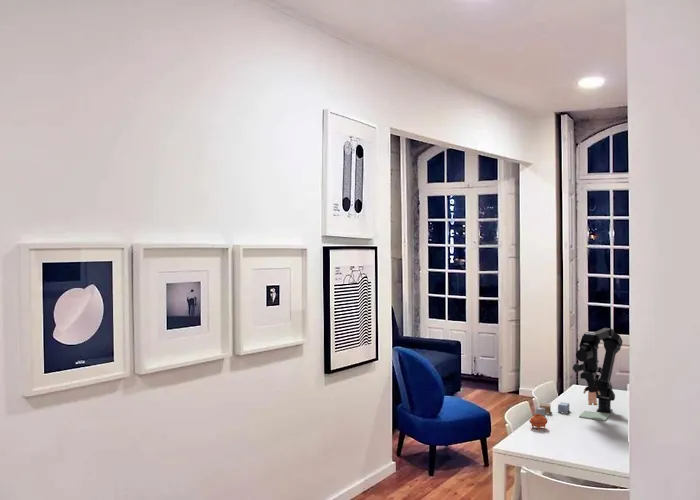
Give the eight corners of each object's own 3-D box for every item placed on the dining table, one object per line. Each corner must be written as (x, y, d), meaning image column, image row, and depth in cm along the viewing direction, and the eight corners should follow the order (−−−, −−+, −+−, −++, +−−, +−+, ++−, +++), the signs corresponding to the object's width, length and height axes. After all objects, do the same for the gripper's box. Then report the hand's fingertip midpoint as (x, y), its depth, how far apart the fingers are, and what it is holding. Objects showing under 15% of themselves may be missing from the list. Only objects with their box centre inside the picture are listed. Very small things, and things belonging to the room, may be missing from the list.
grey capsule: (537, 415, 305) (537, 407, 305) (546, 416, 303) (546, 408, 303) (534, 417, 301) (534, 409, 301) (543, 418, 299) (543, 410, 299)
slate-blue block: (561, 410, 315) (561, 402, 315) (569, 411, 313) (569, 403, 313) (558, 412, 310) (558, 404, 310) (566, 413, 308) (566, 405, 308)
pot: (550, 430, 278) (546, 415, 279) (532, 433, 280) (529, 419, 280) (548, 424, 286) (544, 410, 286) (531, 428, 288) (527, 413, 288)
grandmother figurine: (598, 403, 304) (598, 378, 304) (601, 405, 300) (600, 379, 300) (582, 403, 305) (582, 377, 305) (584, 405, 301) (584, 379, 301)
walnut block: (540, 411, 313) (540, 403, 313) (550, 411, 312) (550, 404, 312) (539, 413, 308) (539, 405, 308) (550, 414, 307) (550, 406, 307)
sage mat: (584, 411, 311) (584, 410, 311) (610, 415, 304) (610, 414, 304) (579, 417, 301) (579, 416, 301) (605, 421, 294) (605, 419, 294)
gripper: (579, 353, 314) (579, 384, 315) (569, 360, 299) (569, 392, 299) (602, 356, 308) (602, 387, 308) (593, 362, 293) (593, 395, 293)
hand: (591, 390), depth 302 cm, fingers closed on grandmother figurine, 3 cm apart
